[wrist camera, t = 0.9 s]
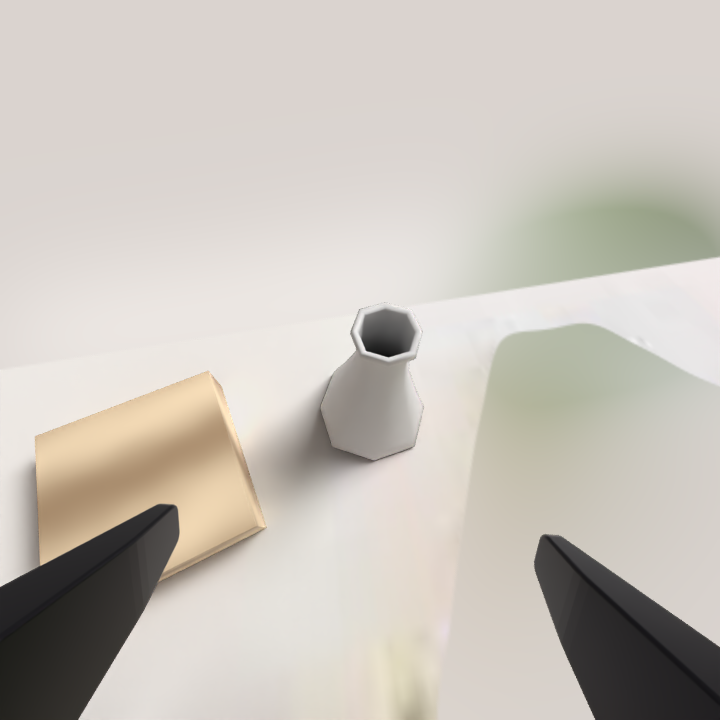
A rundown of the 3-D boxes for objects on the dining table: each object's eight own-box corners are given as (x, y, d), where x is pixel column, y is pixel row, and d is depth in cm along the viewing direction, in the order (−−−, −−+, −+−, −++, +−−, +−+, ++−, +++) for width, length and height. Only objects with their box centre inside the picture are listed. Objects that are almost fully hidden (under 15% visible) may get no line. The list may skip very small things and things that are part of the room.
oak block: (268, 527, 20) (256, 526, 18) (88, 618, 18) (42, 633, 15) (223, 389, 24) (208, 370, 22) (72, 448, 22) (34, 436, 19)
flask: (322, 363, 25) (308, 268, 16) (418, 363, 25) (455, 269, 17) (318, 462, 22) (298, 409, 13) (428, 460, 22) (483, 408, 13)
